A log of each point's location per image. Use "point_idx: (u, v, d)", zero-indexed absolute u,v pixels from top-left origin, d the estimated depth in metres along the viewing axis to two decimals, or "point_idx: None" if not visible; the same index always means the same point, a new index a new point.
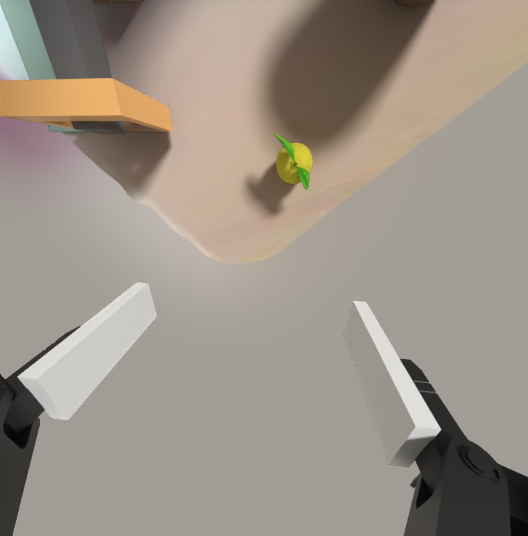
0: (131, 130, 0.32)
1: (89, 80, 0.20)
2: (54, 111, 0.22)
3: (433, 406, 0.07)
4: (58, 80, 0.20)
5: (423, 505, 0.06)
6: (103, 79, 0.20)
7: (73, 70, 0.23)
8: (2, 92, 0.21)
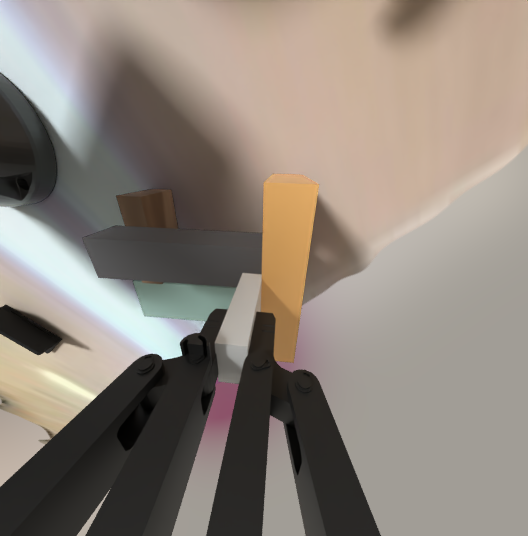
0: None
1: (265, 227, 0.12)
2: (297, 298, 0.14)
3: (264, 339, 0.10)
4: (262, 275, 0.14)
5: None
6: (265, 200, 0.11)
7: (235, 263, 0.17)
8: None
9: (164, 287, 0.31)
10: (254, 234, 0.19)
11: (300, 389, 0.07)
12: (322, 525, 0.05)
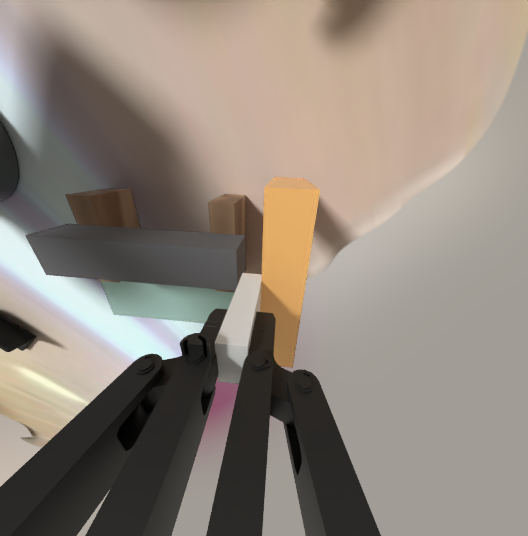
0: None
1: (265, 231, 0.12)
2: (297, 303, 0.14)
3: (264, 339, 0.10)
4: (262, 280, 0.14)
5: None
6: (265, 205, 0.11)
7: (174, 262, 0.18)
8: None
9: (130, 286, 0.31)
10: (201, 234, 0.20)
11: (300, 389, 0.07)
12: (322, 526, 0.05)
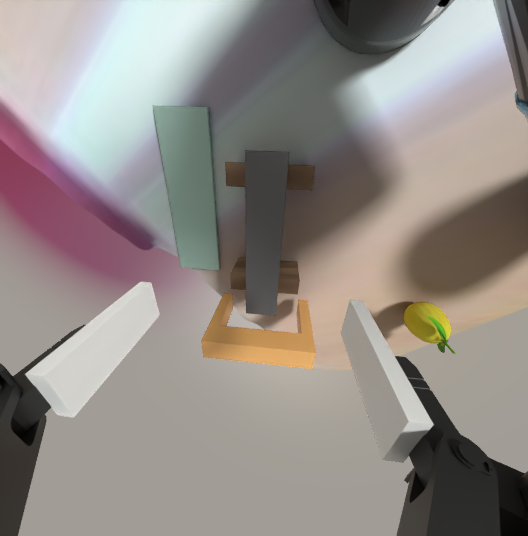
0: None
1: (295, 351, 0.25)
2: (254, 360, 0.26)
3: (427, 402, 0.07)
4: (267, 348, 0.25)
5: (416, 499, 0.06)
6: (307, 352, 0.25)
7: (265, 279, 0.24)
8: (214, 347, 0.26)
9: (204, 151, 0.27)
10: None
11: None
12: None
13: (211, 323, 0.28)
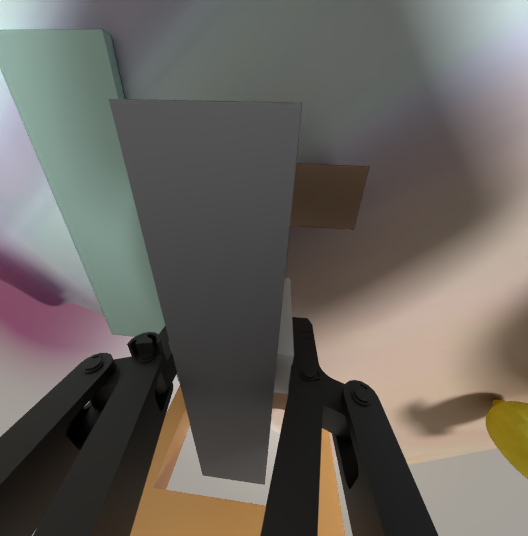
0: None
1: None
2: None
3: (305, 347, 0.10)
4: None
5: None
6: None
7: (238, 437, 0.10)
8: None
9: (114, 136, 0.13)
10: None
11: (357, 400, 0.07)
12: None
13: None
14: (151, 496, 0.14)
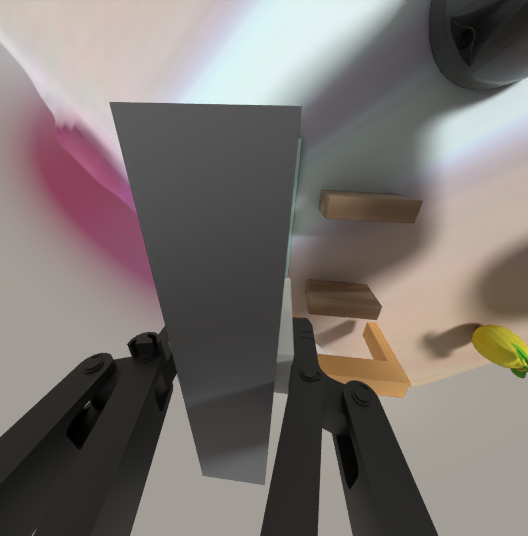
0: None
1: (389, 382, 0.25)
2: None
3: (305, 347, 0.10)
4: (361, 378, 0.25)
5: None
6: (402, 383, 0.25)
7: (238, 438, 0.10)
8: None
9: None
10: None
11: (357, 400, 0.07)
12: None
13: None
14: None
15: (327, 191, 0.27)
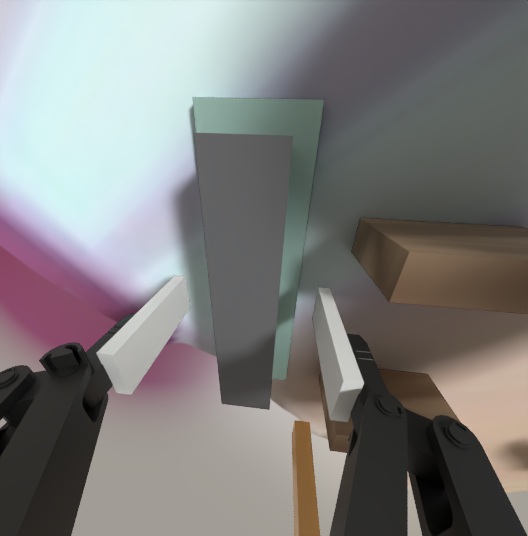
0: None
1: None
2: None
3: (367, 370, 0.09)
4: None
5: (351, 453, 0.07)
6: None
7: (251, 362, 0.14)
8: None
9: (297, 197, 0.13)
10: None
11: (453, 440, 0.06)
12: None
13: None
14: None
15: (376, 222, 0.12)
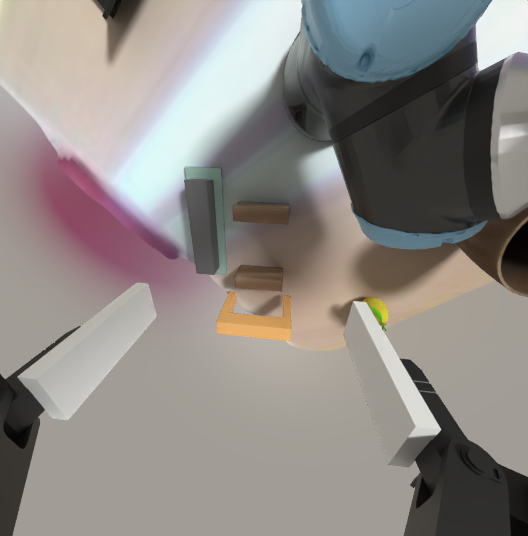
0: None
1: (278, 328, 0.38)
2: (251, 335, 0.39)
3: (432, 406, 0.07)
4: (260, 326, 0.38)
5: (423, 505, 0.06)
6: (286, 329, 0.38)
7: (205, 251, 0.42)
8: (224, 326, 0.39)
9: (217, 194, 0.40)
10: (217, 250, 0.45)
11: None
12: None
13: (222, 311, 0.42)
14: (228, 313, 0.41)
15: (241, 202, 0.40)
